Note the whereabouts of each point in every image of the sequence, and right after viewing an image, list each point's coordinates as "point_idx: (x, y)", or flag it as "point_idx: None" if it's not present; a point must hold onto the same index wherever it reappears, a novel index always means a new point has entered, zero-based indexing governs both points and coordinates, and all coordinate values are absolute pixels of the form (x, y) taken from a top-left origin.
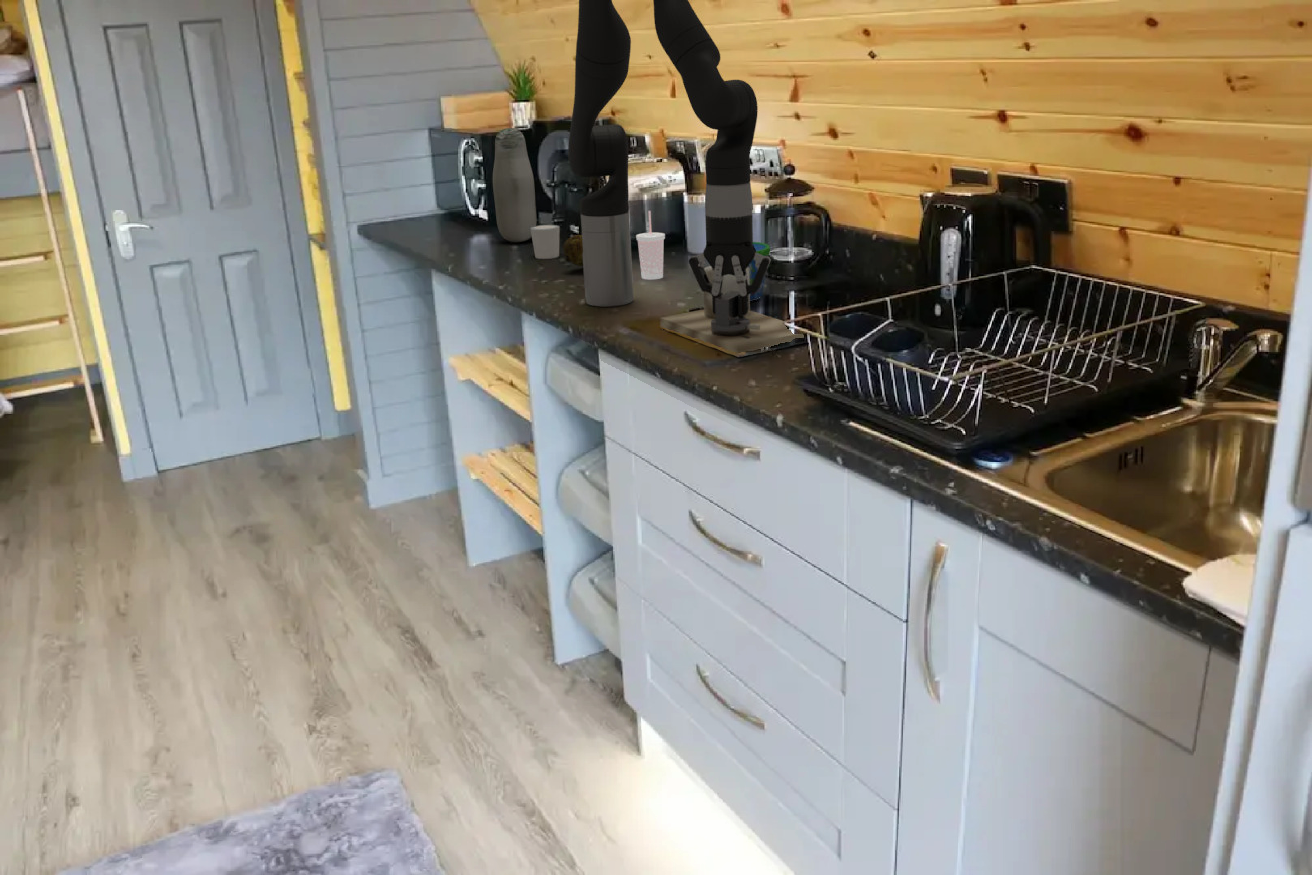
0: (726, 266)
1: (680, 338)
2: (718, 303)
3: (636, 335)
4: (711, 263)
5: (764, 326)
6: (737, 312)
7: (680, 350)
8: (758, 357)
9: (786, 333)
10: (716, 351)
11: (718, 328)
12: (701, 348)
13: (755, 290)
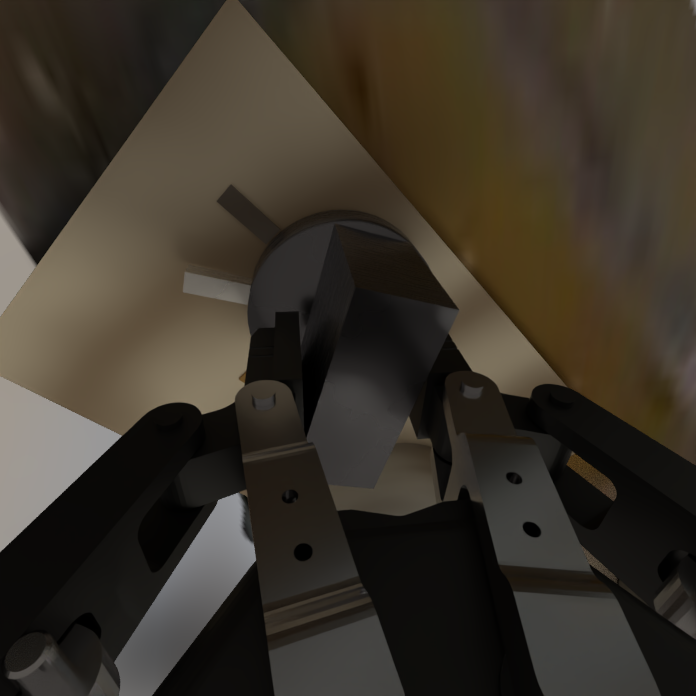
0: (448, 591)
1: (527, 319)
2: (426, 288)
3: (670, 333)
4: (635, 607)
5: (216, 388)
6: (311, 344)
7: (536, 149)
8: (140, 45)
9: (69, 300)
10: (377, 148)
11: (391, 229)
12: (447, 192)
13: (157, 415)
